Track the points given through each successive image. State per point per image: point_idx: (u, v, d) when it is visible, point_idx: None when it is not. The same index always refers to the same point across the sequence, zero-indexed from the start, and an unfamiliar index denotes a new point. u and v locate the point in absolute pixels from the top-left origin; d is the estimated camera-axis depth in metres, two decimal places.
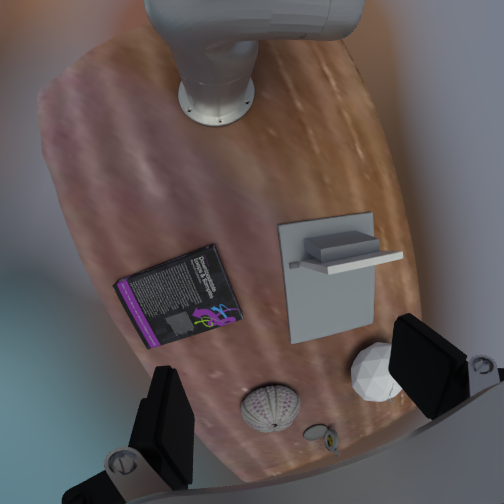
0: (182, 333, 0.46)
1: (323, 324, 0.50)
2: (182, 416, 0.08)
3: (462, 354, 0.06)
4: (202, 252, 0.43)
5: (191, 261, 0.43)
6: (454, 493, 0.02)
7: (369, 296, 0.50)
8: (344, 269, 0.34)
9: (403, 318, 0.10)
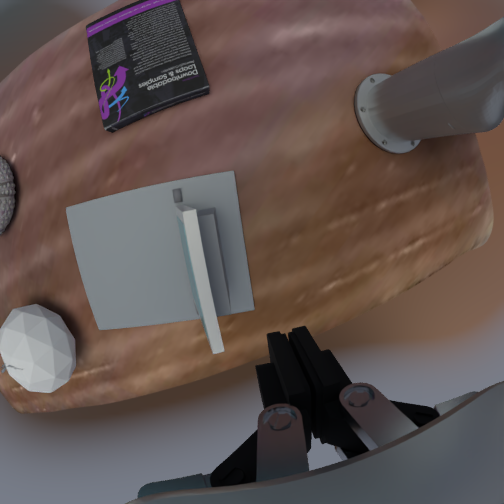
0: (98, 57, 0.24)
1: (92, 252, 0.32)
2: None
3: (334, 379, 0.07)
4: (202, 73, 0.27)
5: (192, 60, 0.26)
6: (454, 493, 0.02)
7: (135, 319, 0.34)
8: (191, 242, 0.20)
9: (294, 331, 0.10)
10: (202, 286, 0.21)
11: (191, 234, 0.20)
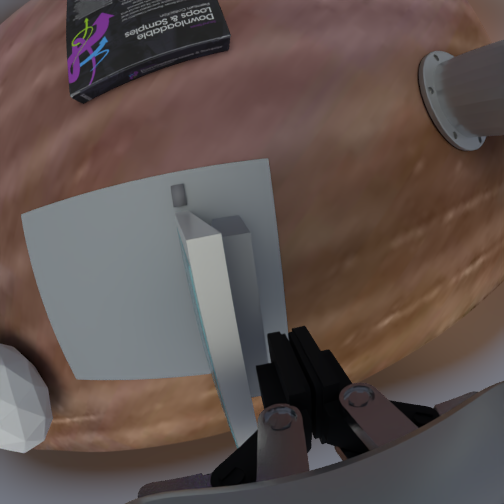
0: (76, 6, 0.13)
1: (57, 279, 0.20)
2: None
3: (334, 379, 0.07)
4: (221, 18, 0.15)
5: (207, 3, 0.15)
6: (454, 493, 0.02)
7: (121, 371, 0.23)
8: (210, 313, 0.08)
9: (294, 331, 0.10)
10: (234, 395, 0.09)
11: (210, 295, 0.08)
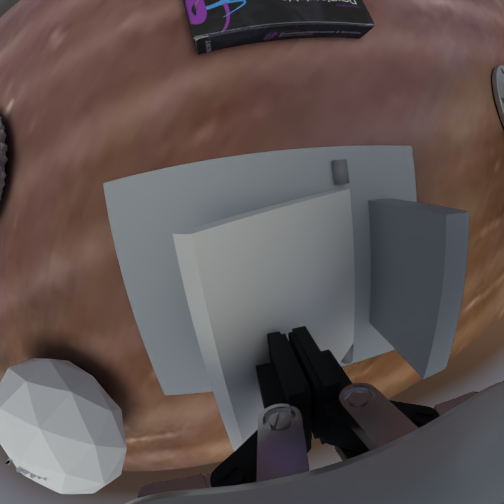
0: None
1: (159, 270, 0.18)
2: None
3: (334, 379, 0.07)
4: (363, 6, 0.13)
5: None
6: (454, 493, 0.02)
7: None
8: (191, 302, 0.09)
9: (294, 331, 0.10)
10: (216, 382, 0.10)
11: (190, 286, 0.09)
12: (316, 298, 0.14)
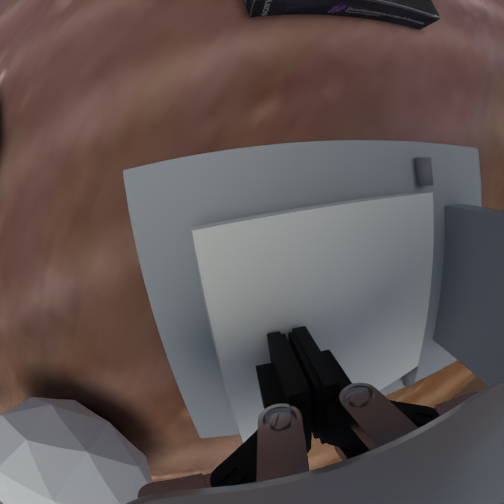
0: None
1: None
2: None
3: (334, 379, 0.07)
4: None
5: None
6: (454, 493, 0.02)
7: None
8: None
9: (294, 331, 0.10)
10: (219, 361, 0.11)
11: (198, 273, 0.10)
12: (361, 310, 0.12)
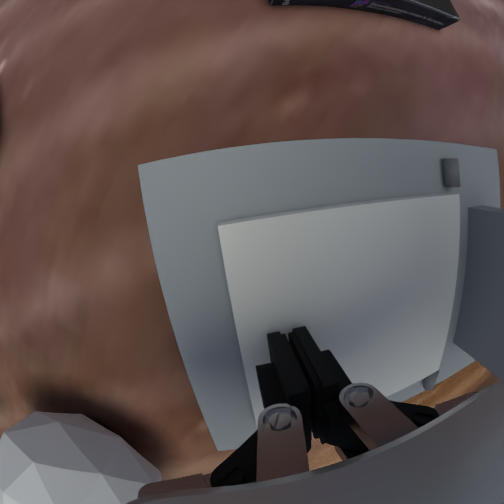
0: None
1: (229, 301, 0.12)
2: None
3: (334, 379, 0.07)
4: None
5: None
6: (454, 493, 0.02)
7: None
8: None
9: (294, 331, 0.10)
10: (240, 350, 0.12)
11: (224, 266, 0.11)
12: (381, 309, 0.12)
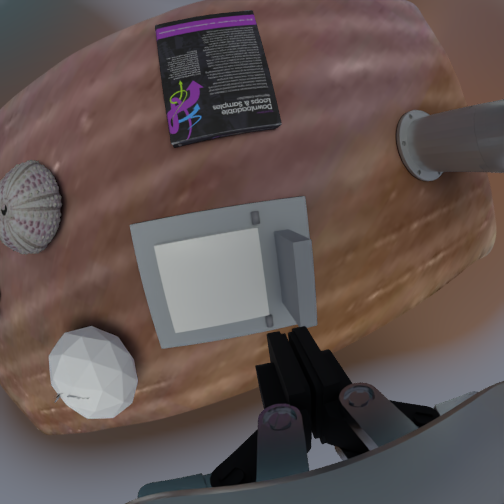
0: (169, 65, 0.27)
1: None
2: None
3: (334, 379, 0.07)
4: (276, 109, 0.31)
5: (268, 94, 0.30)
6: (454, 493, 0.02)
7: (203, 335, 0.37)
8: None
9: (294, 331, 0.10)
10: (164, 289, 0.34)
11: None
12: (216, 276, 0.34)
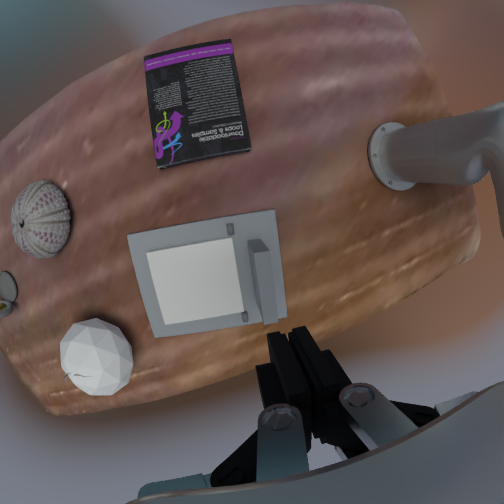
0: (155, 96, 0.33)
1: None
2: None
3: (334, 379, 0.07)
4: (247, 135, 0.36)
5: (240, 121, 0.36)
6: (454, 493, 0.02)
7: (189, 327, 0.44)
8: None
9: (294, 331, 0.10)
10: None
11: None
12: (198, 278, 0.41)
